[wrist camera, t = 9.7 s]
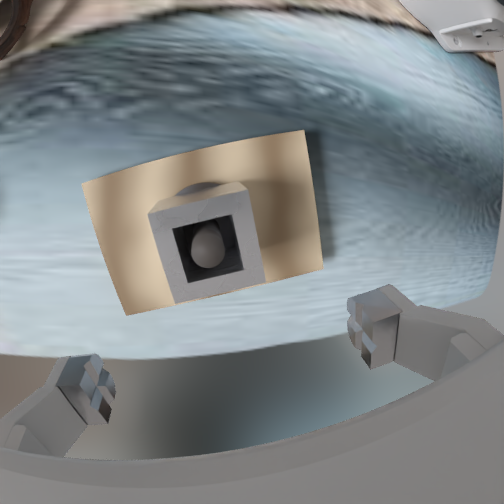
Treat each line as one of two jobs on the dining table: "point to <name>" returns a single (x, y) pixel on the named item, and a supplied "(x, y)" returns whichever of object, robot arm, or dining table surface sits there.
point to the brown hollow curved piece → (15, 25)
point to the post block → (213, 230)
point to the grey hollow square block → (236, 257)
